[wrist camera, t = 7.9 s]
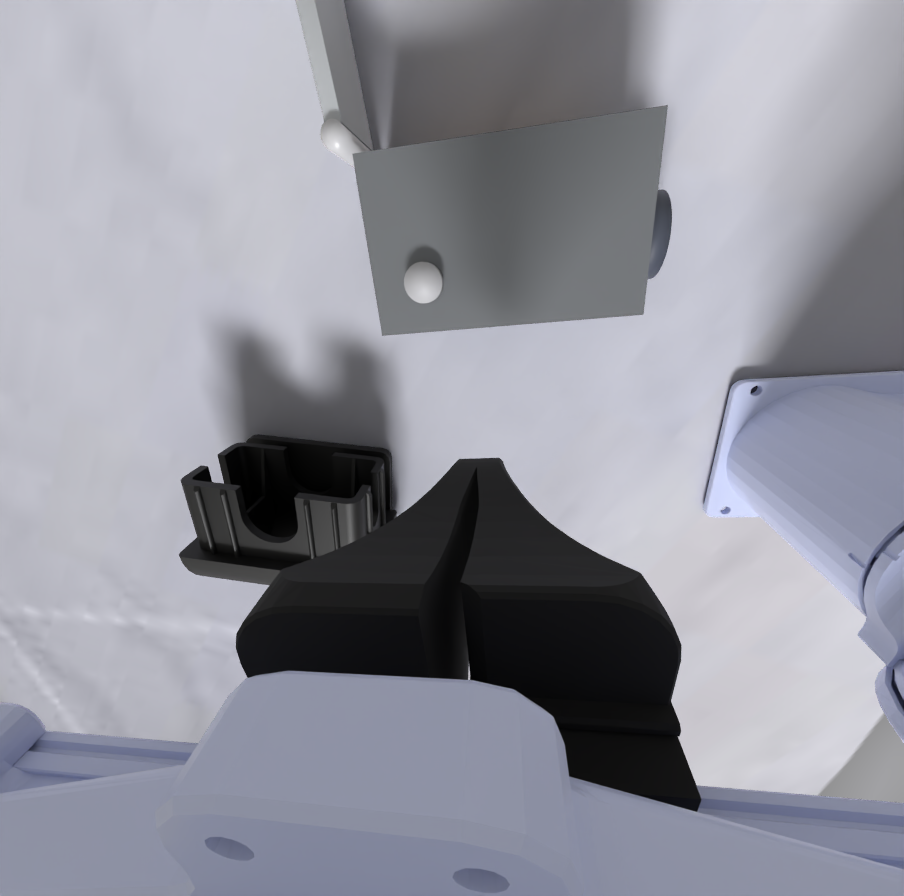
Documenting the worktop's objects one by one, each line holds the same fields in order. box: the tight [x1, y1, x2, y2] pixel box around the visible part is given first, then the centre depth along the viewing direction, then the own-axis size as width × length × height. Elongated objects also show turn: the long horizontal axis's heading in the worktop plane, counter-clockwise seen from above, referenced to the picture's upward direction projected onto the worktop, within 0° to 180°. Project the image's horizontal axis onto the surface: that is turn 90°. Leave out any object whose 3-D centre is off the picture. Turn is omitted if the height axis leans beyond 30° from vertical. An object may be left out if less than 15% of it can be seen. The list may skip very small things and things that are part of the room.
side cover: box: [296, 0, 374, 168], centre depth 13 cm, size 9×1×4 cm, turn 9°
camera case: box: [352, 105, 672, 336], centre depth 15 cm, size 11×6×5 cm, turn 95°
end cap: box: [179, 435, 397, 585], centre depth 21 cm, size 10×7×7 cm
